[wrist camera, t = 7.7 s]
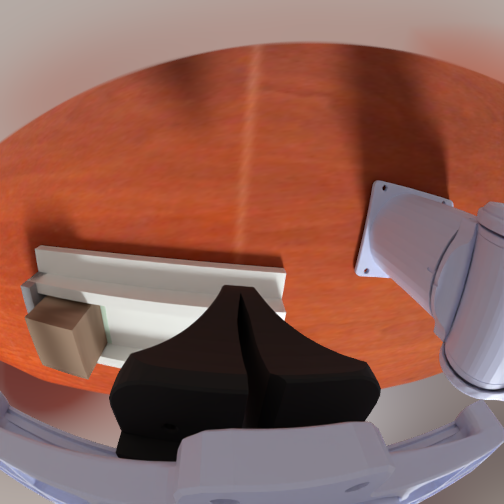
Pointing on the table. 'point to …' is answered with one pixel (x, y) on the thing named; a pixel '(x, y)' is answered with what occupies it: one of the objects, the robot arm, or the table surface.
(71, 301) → the block
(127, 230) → the table surface
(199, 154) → the table surface
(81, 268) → the chute
